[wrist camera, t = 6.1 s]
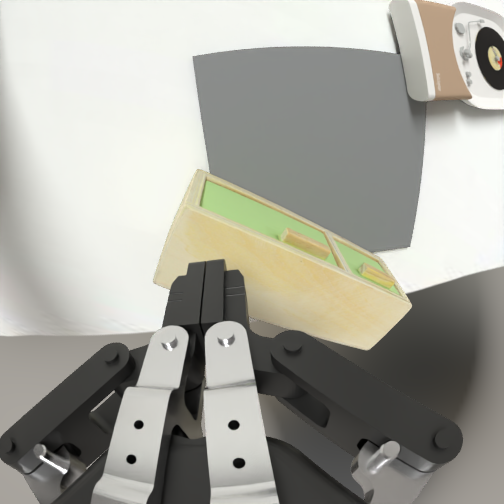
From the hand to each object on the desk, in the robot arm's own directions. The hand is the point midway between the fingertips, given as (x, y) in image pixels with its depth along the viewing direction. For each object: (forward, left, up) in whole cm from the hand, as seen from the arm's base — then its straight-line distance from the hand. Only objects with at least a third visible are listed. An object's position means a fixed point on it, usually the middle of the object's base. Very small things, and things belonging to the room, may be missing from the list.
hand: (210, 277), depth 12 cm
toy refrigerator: (+1, -4, -10) cm, 10 cm away
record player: (-12, +26, -14) cm, 32 cm away
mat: (0, +9, -14) cm, 17 cm away
